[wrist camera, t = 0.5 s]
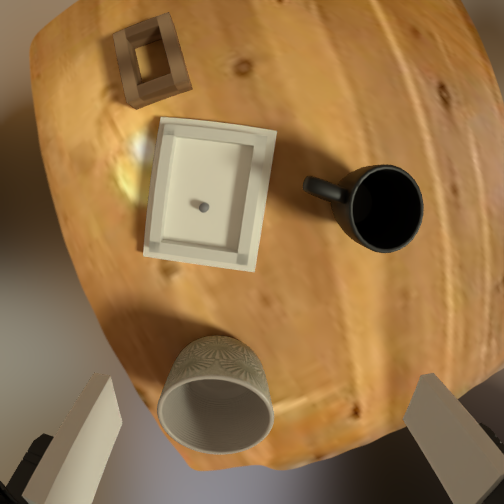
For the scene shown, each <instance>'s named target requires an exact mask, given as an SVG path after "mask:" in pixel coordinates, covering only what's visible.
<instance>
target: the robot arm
mask: <svg viewBox="0 0 504 504" xmlns="http://www.w3.org/2000/svg"><path fill="white" fill-rule="evenodd" d="M403 421H404V422H405V424H406V425H407V427H408V429H409V430H410V432H411V433H412V435H413V437H414V438H415V440H416V441H417V443H418V445H419V446H420V448H421V450H422V451H423V453H424V454H425V456H426V458H427V459H428V461H429V463H430V464H431V466H432V468H433V469H434V471H435V473H436V474H437V476H438V478H439V479H440V481H441V483H442V485H443V486H444V488H445V490H446V491H447V493H448V495H449V497H450V498H451V500H452V502H453V504H481V503H482V502H484V503H485V504H504V444H503V443H501V441H500V440H499V438H498V437H496V435H495V433H494V432H493V431H492V430H491V429H490V428H489V427H487V426H485V425H484V424H482V423H480V424H478V423H477V422H476V421H475V419H474V418H473V417H472V416H471V415H470V414H469V412H468V411H467V410H466V409H465V408H464V407H463V406H462V404H461V403H460V402H459V401H458V400H457V399H456V398H455V396H454V395H453V394H452V393H451V392H450V391H449V390H448V388H447V387H446V386H445V385H444V384H443V383H442V382H441V381H440V380H439V378H438V377H437V376H436V375H435V374H434V373H430V374H425V375H421V376H420V379H419V381H418V384H417V387H416V389H415V392H414V394H413V397H412V399H411V401H410V404H409V406H408V408H407V411H406V413H405V415H404V417H403ZM121 425H122V419H121V415H120V412H119V408H118V404H117V400H116V396H115V392H114V388H113V384H112V379H111V376H110V375H104V374H98V373H94V374H93V375H92V377H91V378H90V380H89V381H88V383H87V385H86V386H85V388H84V389H83V391H82V392H81V394H80V395H79V397H78V399H77V400H76V402H75V403H74V405H73V407H72V408H71V410H70V412H69V413H68V415H67V416H66V418H65V420H64V421H63V423H62V424H61V426H60V428H59V430H58V432H57V433H56V435H55V436H54V437H53V436H49V435H47V434H42V435H41V436H40V437H38V438H37V439H36V440H34V441H33V443H32V444H31V446H30V448H29V449H28V452H27V453H26V454H25V456H24V457H23V460H22V461H21V462H20V464H19V465H18V467H17V469H16V471H15V472H14V474H13V476H12V478H11V479H10V481H9V483H8V484H7V486H6V487H5V486H4V484H3V483H2V482H1V481H0V504H92V501H93V498H94V495H95V493H96V490H97V487H98V484H99V481H100V479H101V476H102V474H103V471H104V468H105V466H106V463H107V460H108V458H109V455H110V453H111V450H112V447H113V445H114V443H115V440H116V438H117V435H118V433H119V430H120V428H121Z"/></svg>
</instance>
